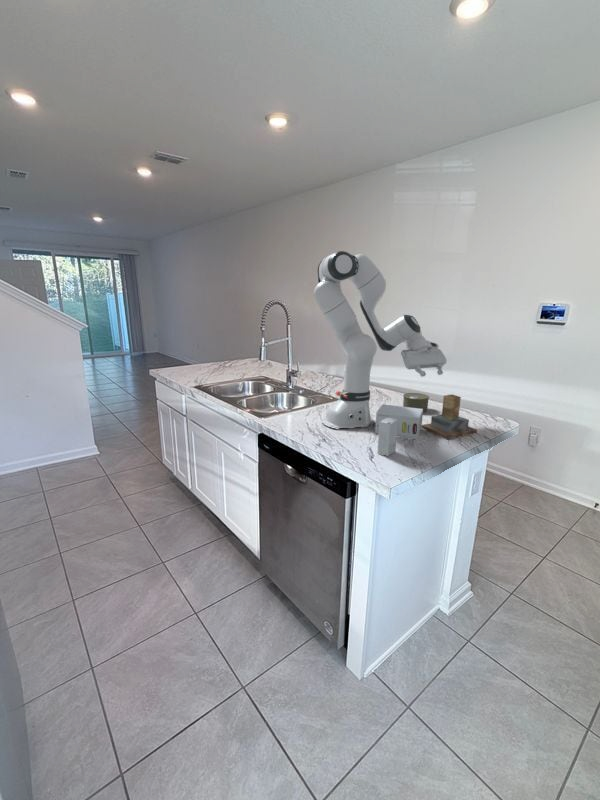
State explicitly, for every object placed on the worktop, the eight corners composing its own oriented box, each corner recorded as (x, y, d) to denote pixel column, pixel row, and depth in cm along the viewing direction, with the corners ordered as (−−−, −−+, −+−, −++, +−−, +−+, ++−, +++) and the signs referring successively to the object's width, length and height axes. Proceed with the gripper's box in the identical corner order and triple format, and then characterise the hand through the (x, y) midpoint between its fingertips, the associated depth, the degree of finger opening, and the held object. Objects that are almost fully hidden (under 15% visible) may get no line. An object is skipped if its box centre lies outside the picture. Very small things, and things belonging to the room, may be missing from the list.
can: (431, 408, 182) (432, 395, 180) (421, 414, 173) (422, 400, 171) (408, 404, 189) (409, 391, 188) (398, 409, 181) (399, 396, 179)
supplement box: (374, 434, 148) (375, 412, 146) (381, 424, 160) (382, 403, 157) (418, 440, 142) (420, 417, 139) (421, 429, 153) (423, 407, 151)
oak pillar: (450, 419, 147) (452, 398, 144) (441, 416, 151) (443, 395, 148) (458, 418, 148) (460, 396, 146) (449, 415, 152) (452, 394, 150)
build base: (446, 439, 142) (448, 425, 140) (421, 428, 154) (422, 415, 153) (476, 433, 148) (478, 419, 146) (450, 423, 160) (451, 410, 159)
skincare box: (384, 448, 133) (386, 416, 130) (396, 451, 130) (398, 419, 127) (376, 453, 129) (378, 421, 126) (388, 457, 126) (390, 423, 123)
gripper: (403, 345, 155) (417, 372, 149) (440, 343, 163) (455, 369, 157) (395, 354, 160) (408, 381, 154) (432, 352, 168) (446, 377, 162)
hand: (432, 374), depth 156 cm, fingers open, 8 cm apart
